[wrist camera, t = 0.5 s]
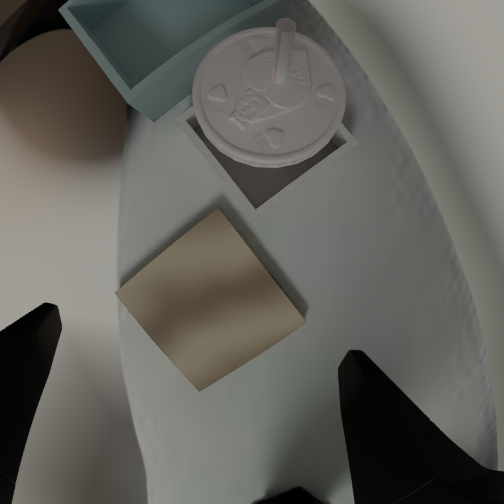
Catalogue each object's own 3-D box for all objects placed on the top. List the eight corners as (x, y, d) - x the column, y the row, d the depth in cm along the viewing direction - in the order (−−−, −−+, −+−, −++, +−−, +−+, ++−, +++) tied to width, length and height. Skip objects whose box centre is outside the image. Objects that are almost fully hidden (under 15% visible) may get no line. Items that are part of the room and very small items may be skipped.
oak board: (304, 318, 23) (306, 322, 22) (200, 386, 24) (199, 391, 23) (219, 207, 22) (218, 207, 21) (119, 290, 23) (114, 292, 22)
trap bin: (285, 31, 20) (290, -5, 15) (154, 122, 21) (127, 103, 16) (197, -42, 18) (187, -77, 13) (86, 34, 20) (58, 9, 15)
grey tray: (347, 150, 21) (358, 144, 18) (254, 219, 22) (253, 221, 19) (275, 63, 20) (277, 48, 18) (183, 128, 21) (174, 119, 19)
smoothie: (330, 133, 21) (422, 46, 7) (271, 201, 22) (291, 198, 8) (260, 77, 20) (257, -60, 6) (200, 143, 21) (114, 63, 7)
